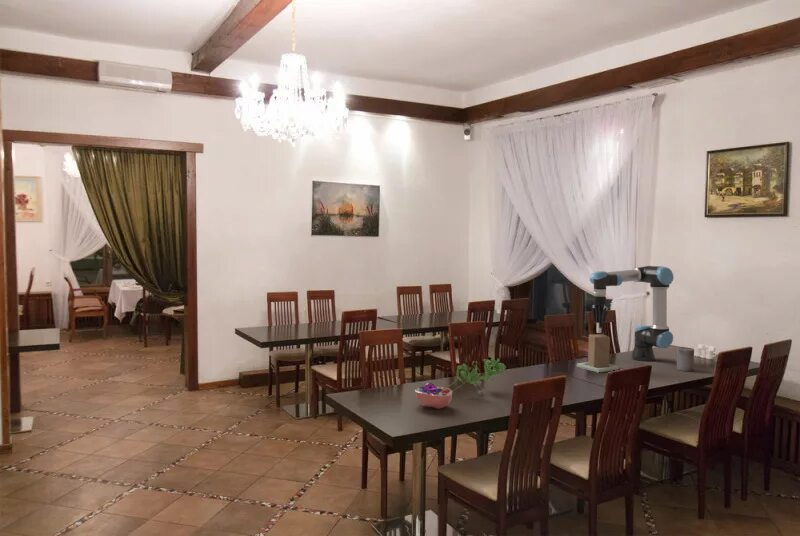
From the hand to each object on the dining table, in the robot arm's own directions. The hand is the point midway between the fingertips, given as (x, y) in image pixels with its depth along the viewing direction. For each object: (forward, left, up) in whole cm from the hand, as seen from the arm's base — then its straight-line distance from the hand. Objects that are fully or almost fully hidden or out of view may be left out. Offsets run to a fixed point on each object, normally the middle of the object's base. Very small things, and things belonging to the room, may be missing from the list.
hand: (598, 332), depth 372 cm
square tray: (0, 0, -23) cm, 23 cm away
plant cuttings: (+106, +14, -23) cm, 109 cm away
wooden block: (0, 0, -22) cm, 22 cm away
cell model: (+139, +28, -23) cm, 144 cm away
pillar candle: (-48, +27, -23) cm, 60 cm away
